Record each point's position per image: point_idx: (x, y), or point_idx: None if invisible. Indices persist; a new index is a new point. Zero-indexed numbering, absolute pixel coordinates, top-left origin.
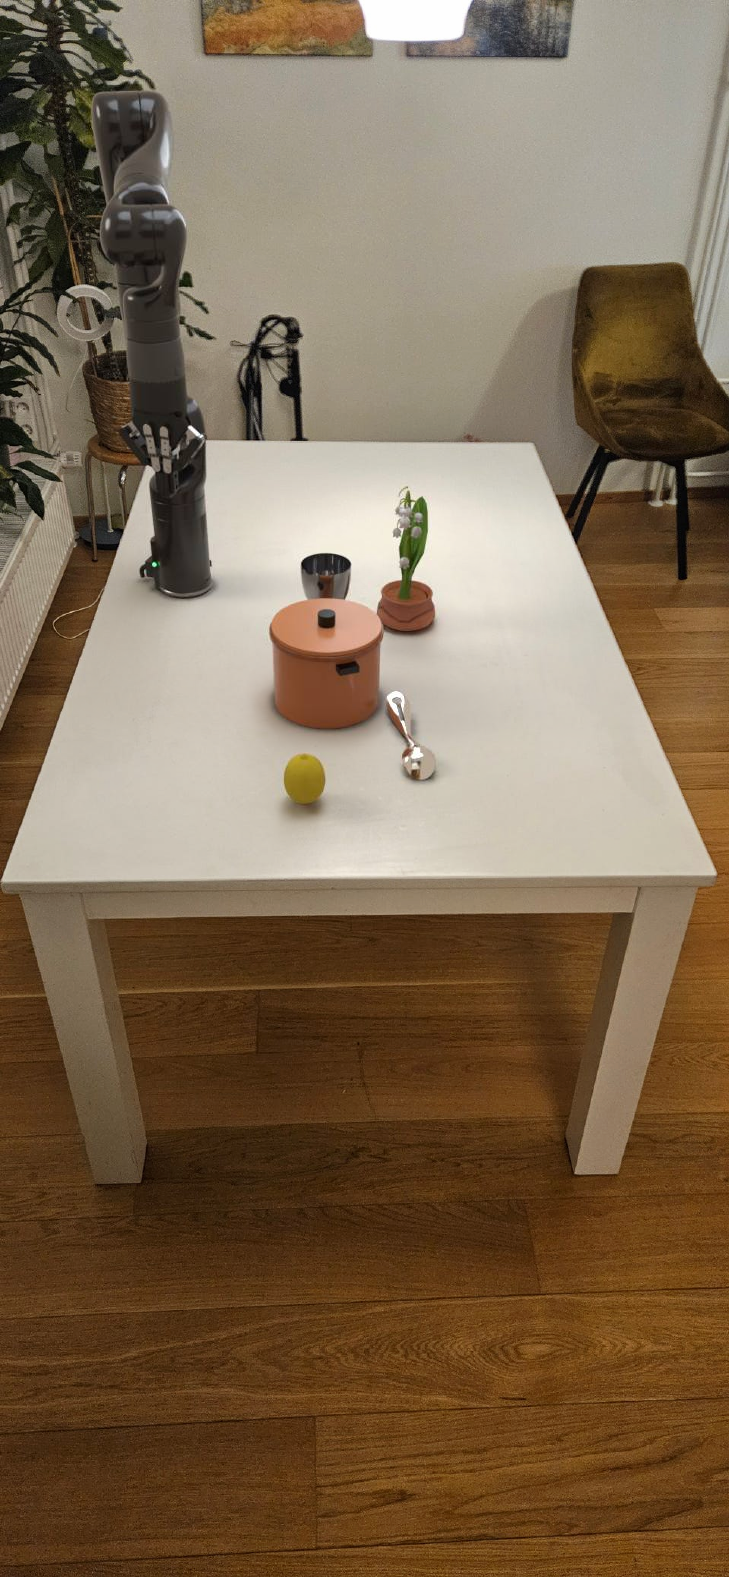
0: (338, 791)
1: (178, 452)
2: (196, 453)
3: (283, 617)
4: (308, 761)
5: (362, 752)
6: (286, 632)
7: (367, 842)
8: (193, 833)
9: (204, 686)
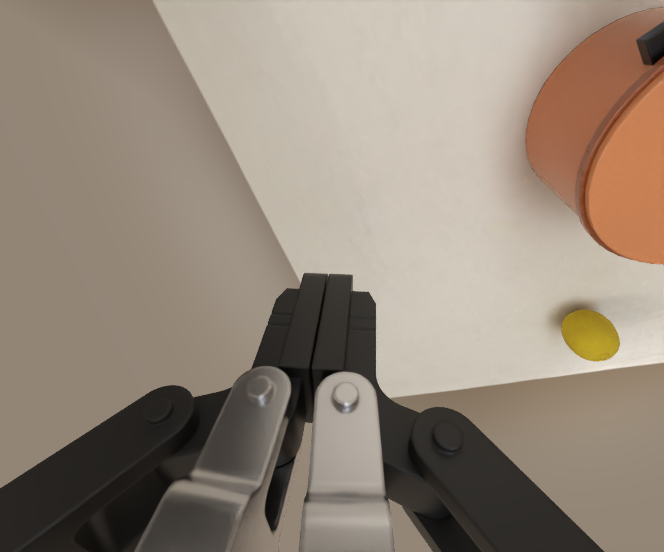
0: (614, 291)
1: (385, 497)
2: (590, 538)
3: (621, 164)
4: (608, 358)
5: None
6: (623, 219)
7: (637, 341)
8: (470, 357)
9: (408, 144)
